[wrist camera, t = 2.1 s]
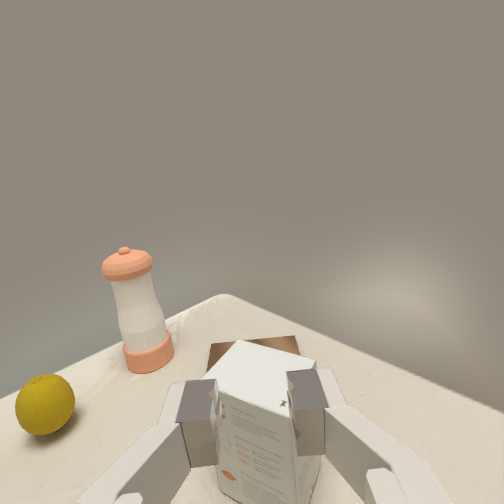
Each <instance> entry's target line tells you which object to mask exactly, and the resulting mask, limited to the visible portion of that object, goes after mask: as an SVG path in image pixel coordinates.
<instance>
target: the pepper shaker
mask: <svg viewBox="0 0 504 504" xmlns="http://www.w3.org/2000/svg"><path fill="white" fill-rule="evenodd" d="M152 263H153V260H152V258H151V256H150V255H149V254H148V253H146V252H145V251H141V250H130V249H129V248H128V247H122V248H120V249H119V250H118V253H115V254H113V255H111V256H110V257H108V258H107V259H105V260H104V262H103V264H102V267H101V272H102V274H103V276H104V277H105V278H106V279H107V280H110V281H111V284H112V288H113V291H114V295H115V299H116V303H117V310H118V321H119V329H120V332H121V335H122V338H123V341H124V346H123V351H124V355H125V358H126V361H127V365H128V368H129V370H130V371H132V372H134V373H138V374H141V373H149V372H153V371H155V370H157V369H160V368H161V367H163V366H164V365H166V364H167V363H168V362H169V361H170V360H171V359H172V356H173V354H174V352H173V346H172V341H171V337H170V333H169V332H168V330H167V329H166V325H165V320H164V315H163V313H162V310H161V308H160V305H159V303H158V301H157V298H156V296H155V293H154V288H153V284H152V280H151V276H150V272H149V271H150V270H151V268H152Z"/></svg>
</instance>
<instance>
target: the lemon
mask: <svg viewBox="0 0 504 504" xmlns="http://www.w3.org/2000/svg"><path fill="white" fill-rule="evenodd" d="M74 405H75V397H74V393H73V390H72V388H71V386H70V385H69V383H68V382H67V381H66V380H65V379H64V378H62V377H61V376H59V375H55V374H45V375H41V376H36V377H34V378H33V379H32V380H30V381H29V382H28V383H27V384H26V385H25V386H24V387H23V388H22V389H21V391H20V392H19V394H18V396H17V399H16V405H15V410H16V416H17V419H18V421H19V424H20V425H21V427H22V428H23V429H24V430H25V431H27V432H28V433H30V434H33V435H47V434H50V433H52V432H55V431H57V430H58V429H60V428H61V427H62V426H63V425H64V424H65V423H66V422H67V421H68V420H69V418H70V417H71V415H72V413H73V410H74Z"/></svg>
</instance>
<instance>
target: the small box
mask: <svg viewBox="0 0 504 504" xmlns="http://www.w3.org/2000/svg"><path fill="white" fill-rule="evenodd" d="M313 368H314V369H315V368H316V360H315V359H312V358H308V357H304V356H300V355H296V354H292V353H289V352H285V351H281V350H277V349H274V348H270V347H266V346H262V345H259V344H255V343H251V342H247V341H244V340H240V339H238V340H237V341H236V342H235V343H234V344H233V345H232V346H231V348H230V349H229V350H228V351H227V352H226V353H225V354H224V355H223V356H222V357H221V358H220V359H219V360H218V362H217V363H216V364H215V365H214V366H213V367H212V368H211V369H210V370H209V371H208V372H207V373H206V374H205V375H204V376H203V377H202V378H201V379H200V380H204V379H217V382H218V387H219V390H218V396H219V397H220V398H221V405H222V430H221V431H220V432H219V437H220V454H219V464H218V465H215V467H216V472H217V477H218V482H219V488H220V491H221V492H223V493H225V494H226V495H228V496H230V497H231V498H233V499H234V500H236V501H238V502H239V503H241V504H309V501H310V498H311V495H312V492H313V489H314V485H315V482H316V479H317V476H318V473H319V469H320V455H313V456H298V457H297V452H296V447H295V441H294V436H293V424H292V423H291V420H290V414H289V407H288V398H287V391H288V388H287V383H286V371H295V370H304V369H313Z"/></svg>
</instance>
